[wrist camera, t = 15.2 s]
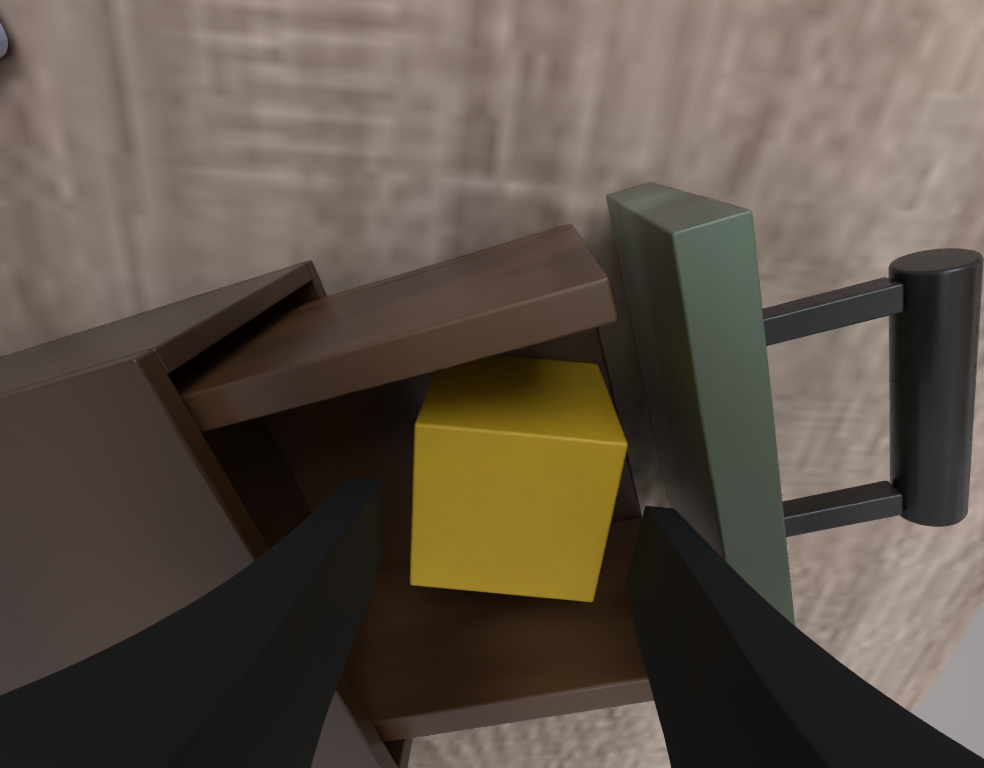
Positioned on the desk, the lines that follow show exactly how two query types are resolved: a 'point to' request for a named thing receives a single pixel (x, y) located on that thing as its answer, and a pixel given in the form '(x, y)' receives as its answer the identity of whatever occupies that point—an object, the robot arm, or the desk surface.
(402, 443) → the drawer
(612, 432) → the block
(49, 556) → the cabinet
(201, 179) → the desk surface
